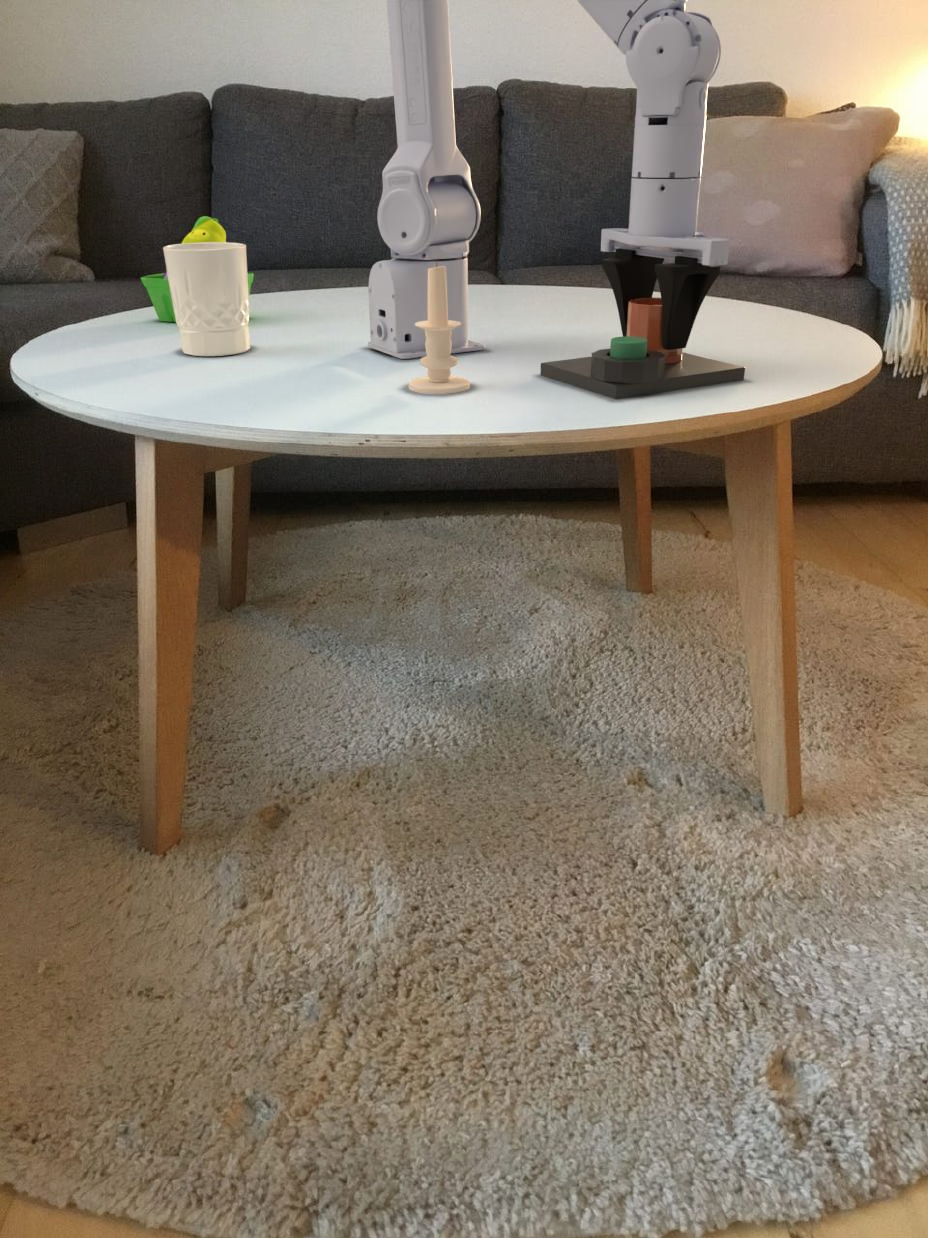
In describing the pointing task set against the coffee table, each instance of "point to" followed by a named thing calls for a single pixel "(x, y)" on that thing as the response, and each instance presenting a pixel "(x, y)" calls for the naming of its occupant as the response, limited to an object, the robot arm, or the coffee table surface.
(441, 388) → the candle
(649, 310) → the terracotta pot
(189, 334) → the white cup
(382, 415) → the coffee table surface
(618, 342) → the button
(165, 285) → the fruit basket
